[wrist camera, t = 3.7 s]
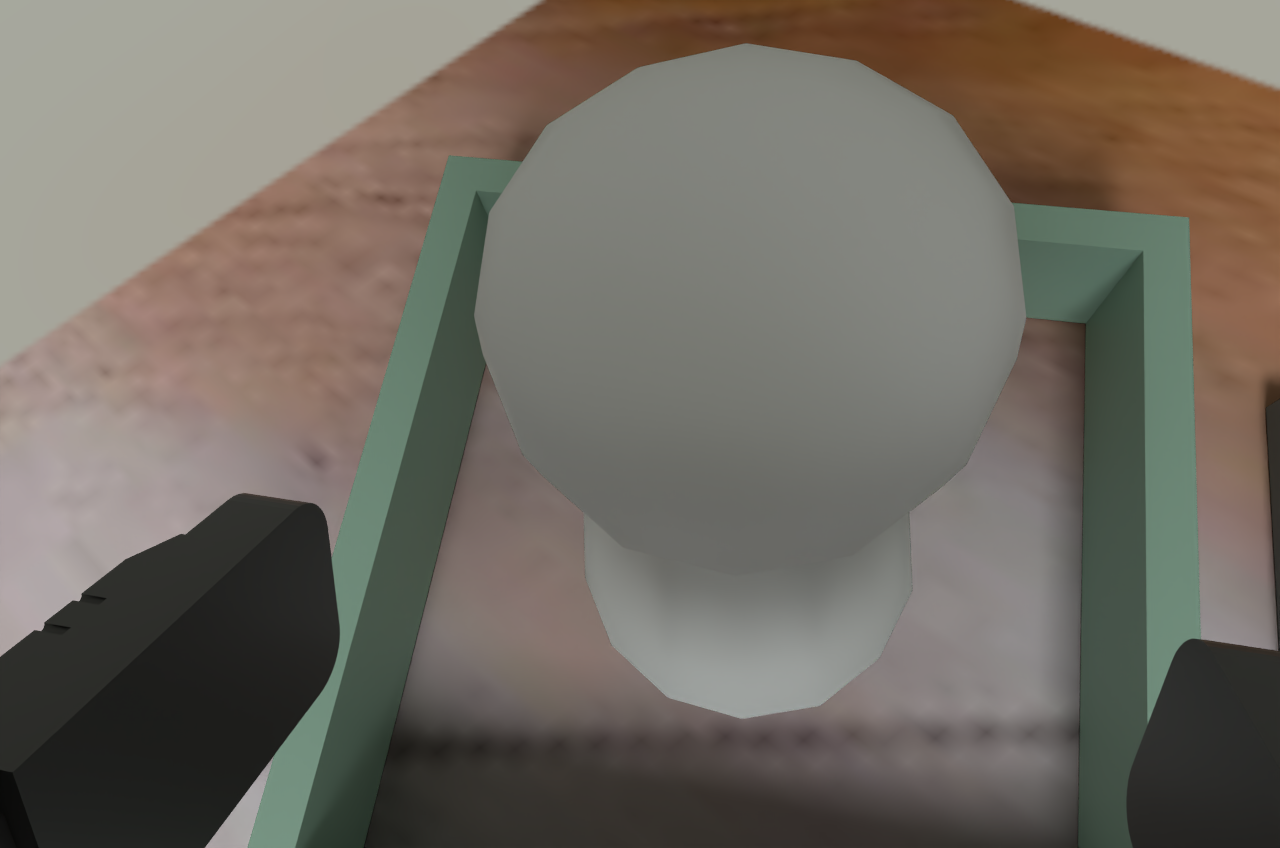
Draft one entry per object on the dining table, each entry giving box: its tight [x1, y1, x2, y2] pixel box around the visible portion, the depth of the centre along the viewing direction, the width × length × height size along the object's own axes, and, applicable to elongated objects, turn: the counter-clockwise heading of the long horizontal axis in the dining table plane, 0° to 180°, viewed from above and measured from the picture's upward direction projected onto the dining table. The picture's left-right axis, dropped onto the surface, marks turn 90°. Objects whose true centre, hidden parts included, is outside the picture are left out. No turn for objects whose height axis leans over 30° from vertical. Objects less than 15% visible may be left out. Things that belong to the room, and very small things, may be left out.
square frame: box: [248, 156, 1201, 848], centre depth 17 cm, size 15×15×3 cm
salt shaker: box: [474, 43, 1026, 719], centre depth 12 cm, size 6×6×13 cm
